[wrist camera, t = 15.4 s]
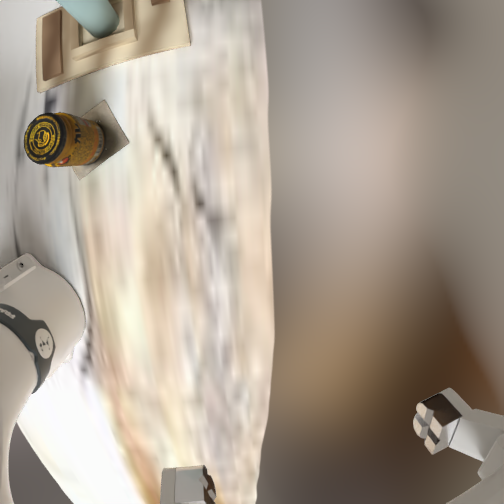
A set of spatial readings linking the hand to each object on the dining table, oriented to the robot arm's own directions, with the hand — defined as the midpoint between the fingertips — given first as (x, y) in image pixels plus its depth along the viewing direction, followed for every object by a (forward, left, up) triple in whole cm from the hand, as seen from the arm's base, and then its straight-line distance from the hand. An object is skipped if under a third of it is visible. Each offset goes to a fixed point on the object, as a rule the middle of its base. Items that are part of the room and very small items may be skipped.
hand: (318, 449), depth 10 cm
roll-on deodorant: (-13, +33, -32) cm, 48 cm away
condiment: (-17, +17, -34) cm, 41 cm away
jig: (-13, +33, -34) cm, 49 cm away
